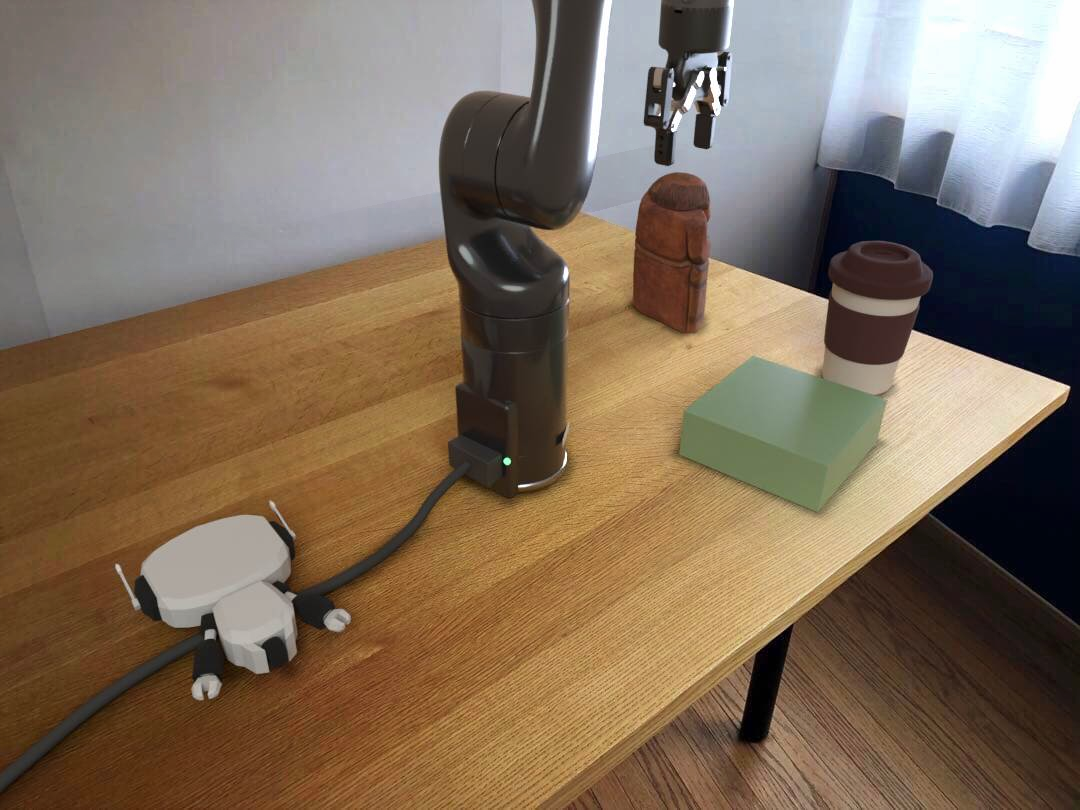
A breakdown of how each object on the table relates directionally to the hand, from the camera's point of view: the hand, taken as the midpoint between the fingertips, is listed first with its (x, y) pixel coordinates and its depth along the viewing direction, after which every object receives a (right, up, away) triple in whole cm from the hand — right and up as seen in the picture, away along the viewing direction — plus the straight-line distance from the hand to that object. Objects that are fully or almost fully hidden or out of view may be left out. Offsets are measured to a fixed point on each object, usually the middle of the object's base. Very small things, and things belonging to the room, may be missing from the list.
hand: (683, 155), depth 98 cm
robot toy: (-38, -45, -34) cm, 68 cm away
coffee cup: (+18, -26, -4) cm, 32 cm away
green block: (+7, -33, -15) cm, 37 cm away
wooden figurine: (0, -17, +11) cm, 20 cm away
